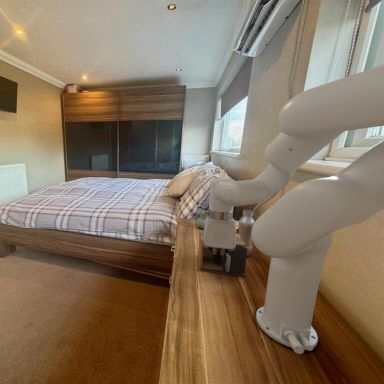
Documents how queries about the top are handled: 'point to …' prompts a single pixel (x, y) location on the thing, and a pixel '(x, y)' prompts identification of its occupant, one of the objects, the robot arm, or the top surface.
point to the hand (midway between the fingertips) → (217, 263)
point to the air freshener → (201, 219)
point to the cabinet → (207, 257)
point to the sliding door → (235, 260)
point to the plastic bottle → (246, 229)
